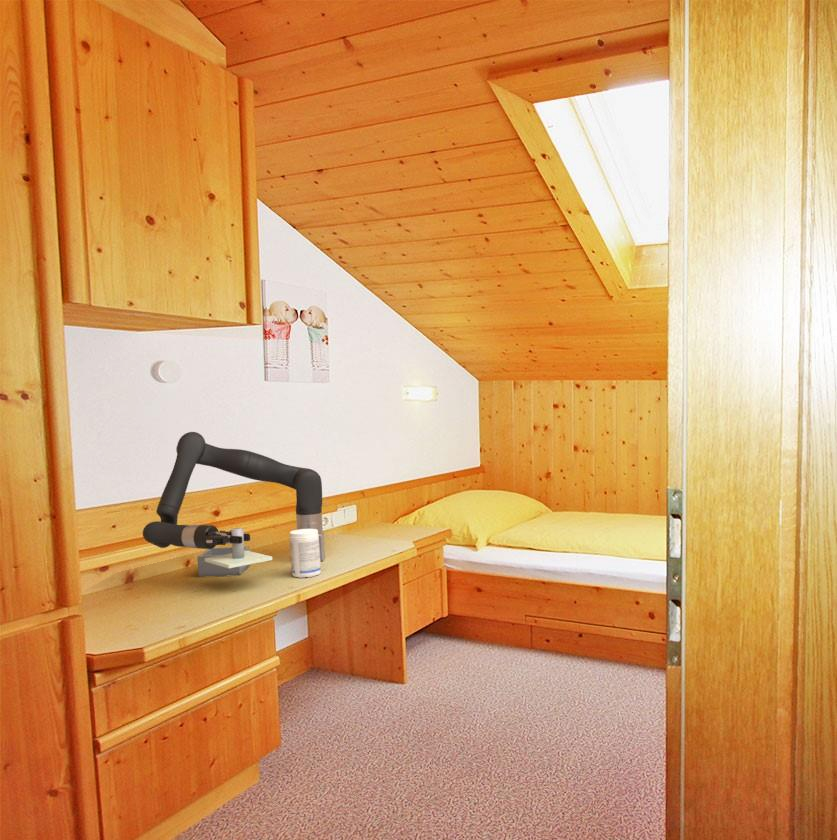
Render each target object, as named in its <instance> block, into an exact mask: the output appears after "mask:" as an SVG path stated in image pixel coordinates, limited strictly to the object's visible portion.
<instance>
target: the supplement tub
mask: <svg viewBox="0 0 837 840" xmlns="http://www.w3.org/2000/svg"><path fill="white" fill-rule="evenodd" d="M289 547H290V560H291V561H290V562H291V575H292V576H293V577H294V578H297V577H298V579H302V578H305V577H308V578H313V577H317V576H319V575H320V574H321V572H322V568H321V561H320V549H319V535H318V530H317V529H299V530H297V529H295V530H291V531H290V532H289ZM316 575H317V576H316Z"/></svg>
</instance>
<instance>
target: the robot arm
mask: <svg viewBox="0 0 837 840" xmlns="http://www.w3.org/2000/svg"><path fill="white" fill-rule="evenodd" d="M177 441H178V442H177V445H176V458H175V462H174V466H173V468H172V471H171V473H170V475H169V478H168V481H167V482H166V484H165V487H164V489H163V492H162V494H161V497H160V499H159V502H158V505H157V507H156V514H157V515H158V517H159V518H160V521H156V520H155V521H151V522H148V523H147V524H146V525H145V526H144V528H143V530H142V537H143V539H144V540H145V541H146V542H148V543H149V544H152V545H154V546H155V547H159V548H161V549H166V548H168V547H169V546H171V545H172V546H174V547H179V548H180V547H181V548H191V549H201V550H203V549H204V550H208V549H213V548H216V547H217V546H225V545H232V543H236V544H241V543H242V542H243V540H242V536H232V530H231V529H230V530H224V529H223V530H222V529H220V530H218V527H217V526H215V525H212V524H178V518H179V517H178V515H179V513H180V510H181V508H182V505H183V501H184V499H185V495H186V493H187V489H188V486H189V484H190V483H189V482H190V479H191V476H192V474H193V471H194V469H195V467H196V465H202V466H208V467H211V468H214V469H215V468H216V469H218V470H220V471H221V470H222V471H224V472H227V473H230V474H233V475H237V476H240V477H243V478H247V479H250V480H254V481H259V482H266V483H275V484H280V485H283V486H285V487H289V488H291V489H294V490H295V495H296V506H295V516H296V518H295V522H296V530H299V529H317V530H318V535H319V549H320V562H323V561H324V560H325V559H326V552H325V551H326V550H325V548H326V547H325V533H324V532H323V531H324V530H323V511H322V507H323V484H322V478H321V476H320V474H319V473H318V472H317V471H316V470H314V469H311V468H307V467H300V466H294V465H290V464H285V463H284V462H283V463H282V462H280V461H278V460H275V459H273V458H271V457H268V456H267V455H266V456H265V455H263V454H260V453H258V452H254V451H250V450H246V449H239V448H238V449H236V448H224V447H223V448H222V447H218V446H214V445H211V444H209V443H206V440H205V437H204V436H203V435H202V434H200V433H198V432H197V431H189V432H187V433H184V434H183V435H181V437H180V438H179V440H177ZM249 541H251V534H250V533H244V542H249ZM324 558H325V559H324Z"/></svg>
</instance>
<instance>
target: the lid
mask: <svg viewBox="0 0 837 840" xmlns="http://www.w3.org/2000/svg"><path fill="white" fill-rule="evenodd" d="M230 530H232V536H242V540H243V542H242V543H241V544H236V543H231V547H232V553H231V554H226V555H220V556H215V557H209V558H205V562H208V563H212V564H215V565H219V566H222V567H226V568H234V567H239V566H244V565H249V564H250V565H253V564H258V563H263V562H264V563H265V562H267V561H273V556H271V555H267V554H262V553H259V552H254V551H250V550H249V551H244V547H245V541H244V534H245V532H244V528H243V527H234V528H231V529H230Z"/></svg>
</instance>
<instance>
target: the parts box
mask: <svg viewBox="0 0 837 840" xmlns="http://www.w3.org/2000/svg"><path fill="white" fill-rule="evenodd" d="M244 551H250V546H244ZM231 553H232V546H230V547H229V546H228V547H214V548H213V549H206V550H205V551H204V552H202V553H201V554H199V555H197V573H198V575H197V576H198V578H205V577H204V576H218V577H228V576H227V575H240V574H241V573H242V572H243V573H244V572H246V571H247V570H248V569H249V568H250V567H251V564H249V565H244V566H239V567H234V568H226V567H222V566H219V565H215V564H212V563H208V562H205V558H209V557H215V556H220V555H226V554H231ZM249 566H250V567H249ZM248 567H249V568H248ZM247 568H248V569H247ZM243 573H242V574H243ZM242 574H241V575H242ZM241 575H240V576H241Z"/></svg>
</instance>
